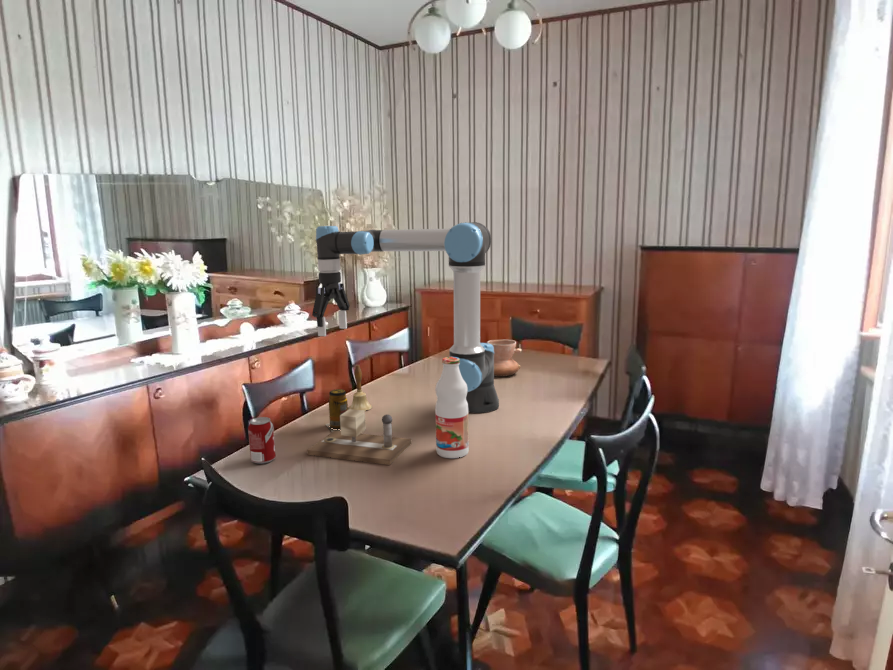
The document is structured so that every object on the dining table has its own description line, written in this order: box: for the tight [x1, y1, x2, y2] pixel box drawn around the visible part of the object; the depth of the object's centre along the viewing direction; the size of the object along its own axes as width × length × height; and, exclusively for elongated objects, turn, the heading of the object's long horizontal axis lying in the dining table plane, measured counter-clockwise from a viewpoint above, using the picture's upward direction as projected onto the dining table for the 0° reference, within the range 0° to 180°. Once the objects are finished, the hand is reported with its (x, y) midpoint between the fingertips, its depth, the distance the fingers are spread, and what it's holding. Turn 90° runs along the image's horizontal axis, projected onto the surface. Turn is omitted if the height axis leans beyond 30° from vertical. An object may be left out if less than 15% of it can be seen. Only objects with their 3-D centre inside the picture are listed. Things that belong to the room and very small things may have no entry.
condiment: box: [325, 388, 349, 433], centre depth 191 cm, size 7×8×12 cm
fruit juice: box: [434, 356, 470, 459], centre depth 167 cm, size 9×9×28 cm
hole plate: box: [306, 414, 412, 466], centre depth 173 cm, size 26×16×12 cm, turn 72°
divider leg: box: [340, 408, 367, 442], centre depth 173 cm, size 5×6×9 cm
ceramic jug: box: [486, 339, 522, 377], centre depth 251 cm, size 18×14×14 cm
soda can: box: [247, 416, 277, 465], centre depth 166 cm, size 7×7×12 cm
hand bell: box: [348, 364, 373, 412], centre depth 209 cm, size 8×8×16 cm
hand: (333, 332), depth 207 cm, fingers open, 13 cm apart
